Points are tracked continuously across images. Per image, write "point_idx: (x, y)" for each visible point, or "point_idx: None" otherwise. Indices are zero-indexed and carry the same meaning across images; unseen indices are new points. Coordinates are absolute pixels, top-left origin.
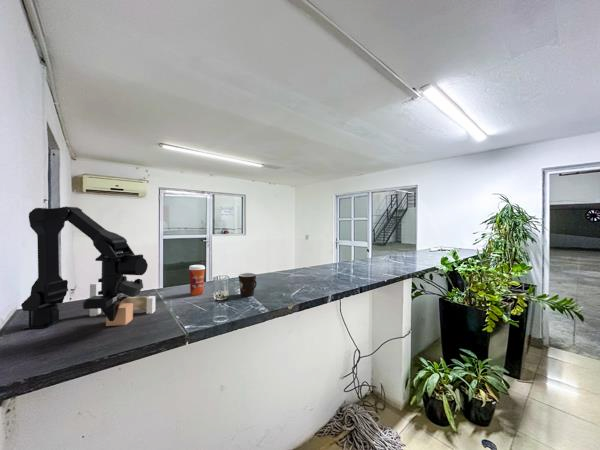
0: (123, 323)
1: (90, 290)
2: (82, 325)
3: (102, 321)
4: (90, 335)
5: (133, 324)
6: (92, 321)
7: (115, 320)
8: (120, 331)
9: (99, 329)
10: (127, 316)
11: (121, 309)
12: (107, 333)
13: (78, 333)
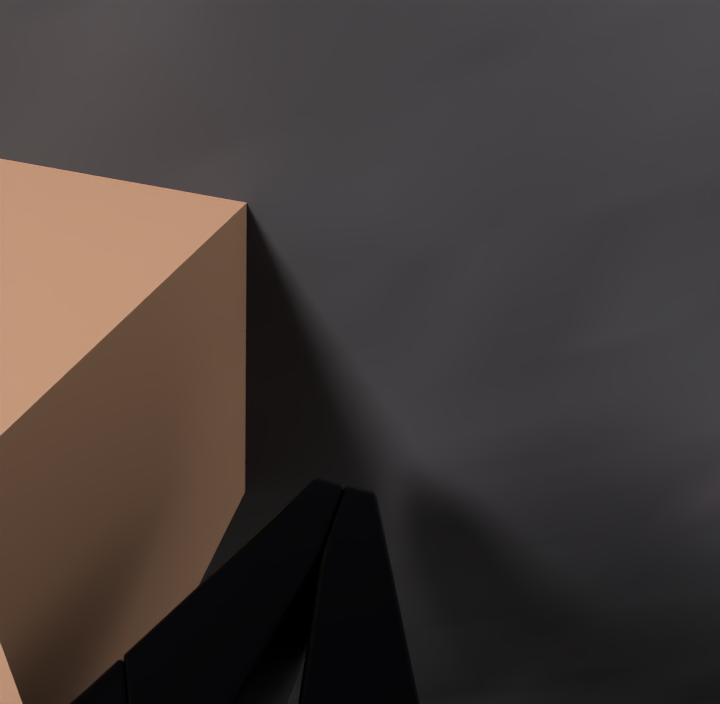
0: (235, 257)
1: None
2: None
3: None
4: (598, 592)
5: (244, 12)
6: None
7: (205, 438)
8: (640, 195)
9: None
10: (74, 254)
11: (26, 554)
12: (633, 407)
13: (450, 692)
